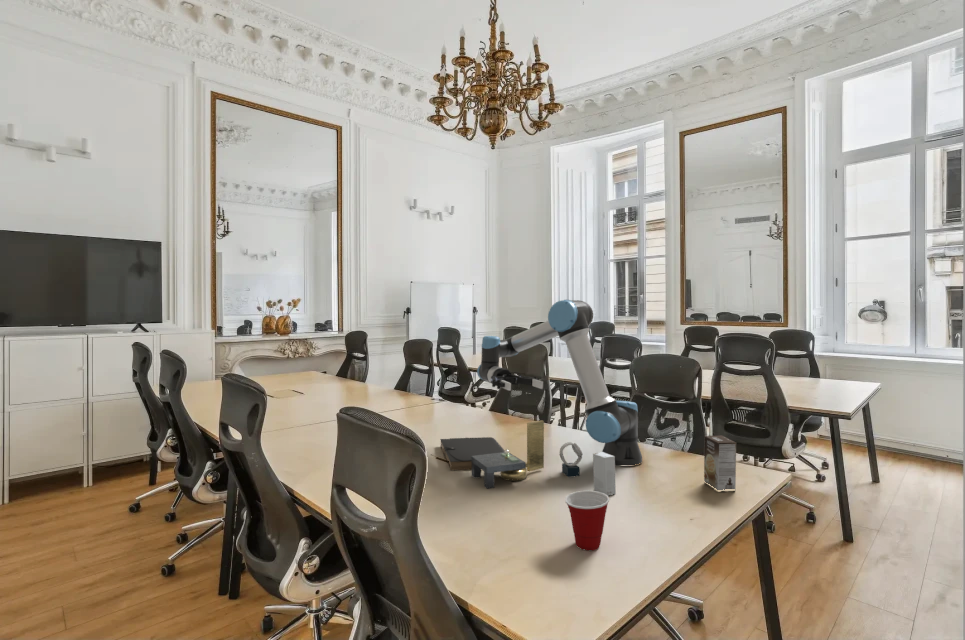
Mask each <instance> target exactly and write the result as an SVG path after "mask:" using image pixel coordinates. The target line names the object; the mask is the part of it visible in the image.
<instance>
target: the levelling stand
mask: <svg viewBox="0 0 965 640" xmlns="http://www.w3.org/2000/svg"><path fill="white" fill-rule="evenodd" d="M504 450H505V451H504V452H501V453H493V454H484V455H476V456H471V462H472V469H471V477H472V478H473V479H477V478H478V479H479V478H482V471H483V480H484V481H483V487H484V488H485V489H487V490H489V489H494V488H495V473H500V472H502V471H510V470H517V469H525V468H526V469H527V467H526V462H527V461H524V460H522V459H521V458H519V457H517V456H515V455H513V454H512V453H510V450H509V449H504Z"/></svg>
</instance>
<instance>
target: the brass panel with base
mask: <svg viewBox="0 0 965 640" xmlns="http://www.w3.org/2000/svg"><path fill="white" fill-rule="evenodd" d="M544 423H545V422H544V420H537V421H531V422H527V423H526V461H525V462H526V468H525V469H517V470H510V471H502V472H499V473H500V474H499V475H500V478H501V479H503V480H506V481H522V480H525V479H526V478H527V472H533V471H537V470H540V469H541V470H542V469H544V468H545V465H544V464H545V462H544V461H545V458H544V457H545V453H544V451H545V450H544V449H545V443H544V442H545V441H544V440H545V428H544V427H545V424H544Z"/></svg>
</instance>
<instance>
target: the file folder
mask: <svg viewBox="0 0 965 640" xmlns="http://www.w3.org/2000/svg"><path fill="white" fill-rule="evenodd" d="M440 447H442V448H441V450H442V453H443V455H444V454H445V455H446V456H445V455H444V456H445V459H446V460H447V462H448V461H449V462H448V463H449V466H450V467H449V468H450V471H459V470H460V471H461V470H462V471H463V470H464V471H465V470H472V462H471V456H476V455H484V454H493V453H501V452H504V451H505V450H506V449H504V448H503V447H502V446H501V445H500V444H499V442H498V441H497V440H496V439H495V438H494V437H491V436H490V437H489V436H487V437H485V436H483V437H458V438H457V437H453V438H452V437H451V438H440Z"/></svg>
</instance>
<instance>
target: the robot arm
mask: <svg viewBox="0 0 965 640" xmlns="http://www.w3.org/2000/svg"><path fill="white" fill-rule="evenodd" d="M593 320H594V311H593V308H592V306H591V305H590V304H589V303H588V302H586V301H583V300H571V299H563V300H558V301H556V302H555V303H553V304H552V306H551V307H550V308H549V311H548V313H547V320H546V321H543V322H542V323H539V324H537V325H535V326H532V327H530V328H529V329H526V330H523V331H521V332H519V333H517V334H515V335H512V336H511V337H509V338H506V339H501V338H500V336H497V335H484V336H483V337H482V343H481V362H480V365H479V366H478V367H477V369H476V372H477V373H476V374H477V376H478V378H479V379H481V380H482V381H483V382H487V383H489V384H491V386H492V388H495V387H496V390H501V389H504V390H506V391H508V392H509V391H512V385H517V386H519V385H529V386H532V387H535V388H537V389H540V390H543V389H544V381H543V380H540V378H538V377H537V376H533V377H532V376H525V375H521V374H519V375H515V374H512V372H511V371H510V370H509V369H507V368H504V367H501V366H500V358H507V357H509V358H511V357H514V356H517V355H518V354H519V353H520V352H523V351H525V350H528V349H530V348H532V347H535V346H538V345H539V344H542V343H544V342H548V341H549V340H551V339H554V338H557V337H559V340H560V341H562V342H565V344H566V345H565V346H566V348H567V350H568V353H569V355H570V358H571V361H572V364H573V367H574V370H575V372H576V375H577V379H578V382H579V384H580V387H581V390H582V393H583V395H584V398H585V401H586V406H585V408H584V411H585V413H586V416H587V418H586V420H585V428H586V432H587V434H588V435H589V437H591V439H593V440H594V441H596V442H598V443H601V444H603V448H602V450H601V452H604V453H607V454H610V455H612V456H615V466H616V465H635V464H639V463H641V462H642V463H643V455H642V451H641V448H640V446H639V443H638V442H639V441H638V436H639V435H638V428H639V427H638V425H639V424H638V423H639V417H638V416H639V415H638V414H639V410H638V404H637V403H636V402H634V401H626V400H616V398H613V397H612V396H611V395H610V393H609V391H608V387H607V385H606V382H605V379H604V376H603V374H602V371H601V368H600V366H599V363H598V360H597V357H596V354H595V351H594V349H593V346H592V344H591V341H590V339H589V336H588V334H589V332H590V325H591V324H592V322H593ZM642 463H641V464H642Z"/></svg>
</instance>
